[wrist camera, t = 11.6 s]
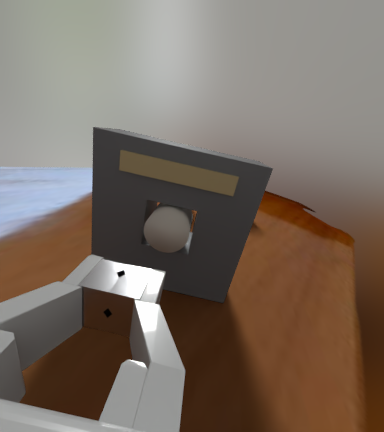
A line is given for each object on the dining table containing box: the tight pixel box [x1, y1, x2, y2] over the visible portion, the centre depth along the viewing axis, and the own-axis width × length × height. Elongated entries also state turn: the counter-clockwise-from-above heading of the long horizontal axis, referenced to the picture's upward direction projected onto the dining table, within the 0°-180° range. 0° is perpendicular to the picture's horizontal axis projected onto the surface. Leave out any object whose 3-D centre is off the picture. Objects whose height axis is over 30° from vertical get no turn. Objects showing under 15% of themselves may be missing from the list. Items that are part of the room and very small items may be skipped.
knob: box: [144, 203, 193, 253], centre depth 27 cm, size 11×5×5 cm, turn 175°
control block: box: [92, 127, 272, 303], centre depth 25 cm, size 6×18×18 cm, turn 85°
